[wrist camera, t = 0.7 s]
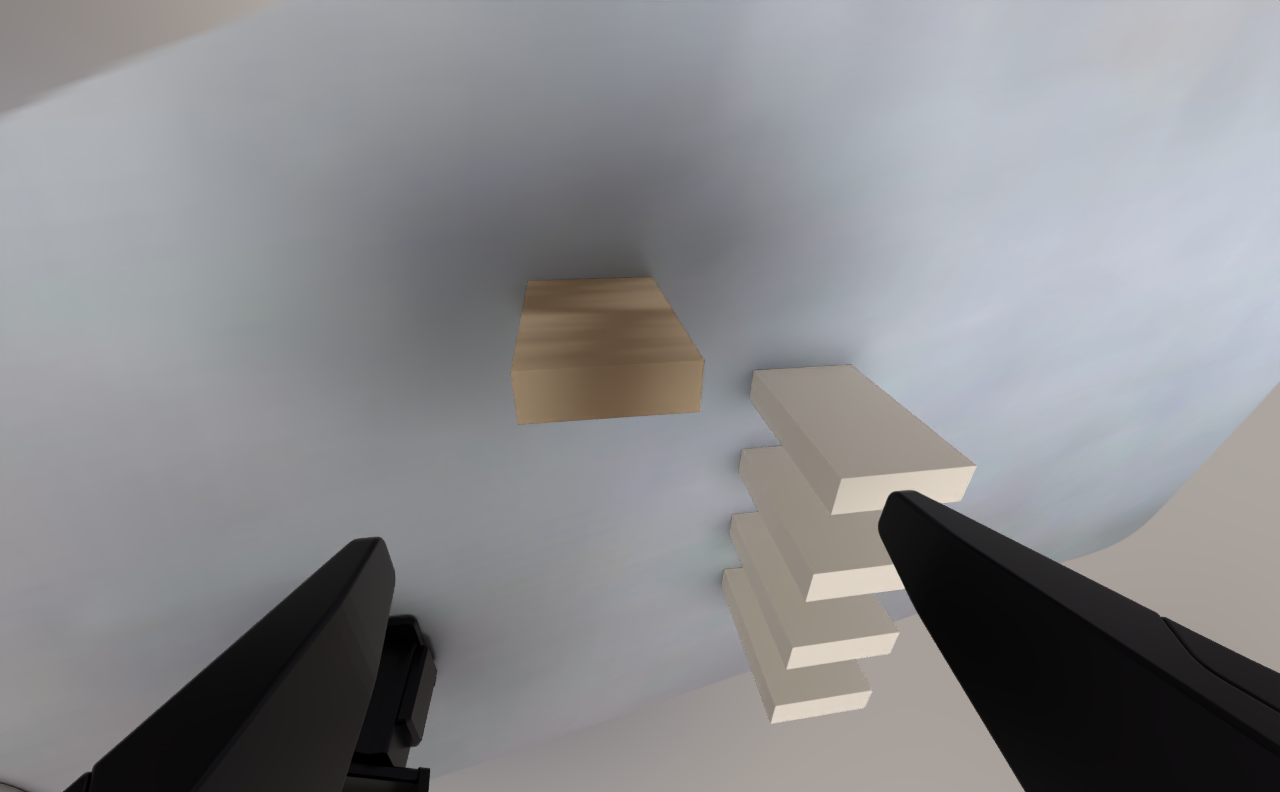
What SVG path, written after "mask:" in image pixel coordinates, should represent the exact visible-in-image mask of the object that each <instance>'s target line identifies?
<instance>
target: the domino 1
mask: <svg viewBox="0 0 1280 792" xmlns="http://www.w3.org/2000/svg"><path fill="white" fill-rule="evenodd" d="M749 400H750V401H751V403H752V404H753V405H754V407H755V408H756V410H757V411H758V413H759V414H760V415H761V417H762V418H763V420H764V421H765V422H766V424H767V425H768V427H769V428H770V429H771V431H772V432H773V434H774V435H775V437H776V438H777V439H778V441H779V442H780V444H781V445H782V446H783V448H784V449H785V451H786V452H787V454H788V455H789V456H790V458H791V459H792V461H793V462H794V463H795V465H796V466H797V468H798V469H799V470H800V472H801V473H802V475H803V476H804V478H805V479H806V480H807V482H808V483H809V485H810V486H811V487H812V489H813V490H814V492H815V493H816V494H817V496H818V497H819V499H820V500H821V502H822V503H823V504H824V506H825V507H826V509H827V510H828V511H829V513H830V514H831V515H836V514H845V513H854V512H864V511H873V510H882V509H883V508H884V505H885V503H886V500H887V497H888V496H889V494H890V493H892V492H894V491H902V490H914V491H917V492H919V493H921V494H923V495H925V496H927V497H929V498H931V499H933V500H935V501H937V502H939V503H948V502H957V501H961V499H962V497H963V495H964V493H965V491H966V489H967V486H968V484H969V482H970V480H971V478H972V476H973V473H974V471H975V469H976V467H977V465H976V464H974V463H973V462H972V461H971V460H969V459H968V458H967V457H966V456H964V455H963V454H962V453H961V452H959V451H958V450H957V449H956V448H954V447H953V446H952V445H951V444H949V443H948V442H947V441H946V440H944V439H943V438H942V437H941V436H939V435H938V434H937V433H936V432H935V431H933V430H932V429H931V428H930V427H928V426H927V425H926V424H925V423H923V422H922V421H921V420H920V419H918V418H917V417H916V416H915V415H913V414H912V413H911V412H910V411H908V410H907V409H906V408H905V407H903V406H902V405H901V404H900V403H898V402H897V401H896V400H895V399H893V398H892V397H891V396H890V395H889V394H887V393H886V392H885V391H884V390H882V389H881V388H880V387H879V386H877V385H876V384H875V383H874V382H872V381H871V380H870V379H869V378H867V377H866V376H865V375H864V374H862V373H861V372H860V371H859V370H857V369H856V368H855V367H854V366H852V365H835V366H818V367H801V368H785V369H768V370H754V371H753V378H752V385H751V391H750V398H749Z"/></svg>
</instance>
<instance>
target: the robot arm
mask: <svg viewBox="0 0 1280 792" xmlns="http://www.w3.org/2000/svg"><path fill="white" fill-rule="evenodd" d="M878 532H879V535H880V538H881V540H882V542H883V544H884V546H885V548H886V550H887V552H888V554H889V556H890V558H891V561H892V563H893V565H894V567H895V569H896V571H897V573H898V575H899V577H900V579H901V581H902V583H903V585H904V587H905V589H906V591H907V594H908V596H909V598H910V600H911V602H912V604H913V605H914V607H915V609H916V611H917V613H918V615H919V616H920V618H921V620H922V622H923V623H924V625H925V627H926V628H927V630H928V632H929V633H930V635H931V637H932V638H933V640H934V642H935V643H936V645H937V647H938V648H939V650H940V651H941V653H942V655H943V657H944V658H945V660H946V661H947V663H948V665H949V666H950V668H951V670H952V672H953V673H954V675H955V676H956V678H957V680H958V681H959V683H960V685H961V686H962V688H963V690H964V691H965V693H966V695H967V696H968V698H969V700H970V701H971V703H972V705H973V706H974V708H975V710H976V711H977V713H978V715H979V716H980V718H981V719H982V721H983V723H984V724H985V726H986V728H987V730H988V731H989V733H990V734H991V736H992V738H993V739H994V741H995V743H996V744H997V746H998V748H999V749H1000V751H1001V752H1002V754H1003V756H1004V758H1005V759H1006V761H1007V762H1008V764H1009V766H1010V768H1011V769H1012V771H1013V773H1014V774H1015V776H1016V778H1017V779H1018V781H1019V783H1020V784H1021V786H1022V787H1023V789H1024V791H1025V792H1280V673H1278V672H1276V671H1274V670H1272V669H1270V668H1267V667H1265V666H1263V665H1261V664H1259V663H1257V662H1255V661H1252V660H1250V659H1248V658H1246V657H1244V656H1242V655H1240V654H1238V653H1236V652H1234V651H1232V650H1230V649H1228V648H1226V647H1224V646H1222V645H1220V644H1218V643H1216V642H1214V641H1212V640H1210V639H1208V638H1206V637H1204V636H1202V635H1200V634H1198V633H1196V632H1194V631H1192V630H1190V629H1188V628H1186V627H1184V626H1182V625H1180V624H1178V623H1176V622H1174V621H1172V620H1170V619H1168V618H1166V617H1160V615H1159V614H1157V613H1156V612H1154V611H1152V610H1150V609H1148V608H1146V607H1144V606H1142V605H1140V604H1138V603H1136V602H1134V601H1132V600H1131V599H1129V598H1127V597H1124V596H1123V595H1121V594H1119V593H1117V592H1115V591H1113V590H1111V589H1109V588H1107V587H1105V586H1103V585H1101V584H1099V583H1097V582H1095V581H1093V580H1091V579H1089V578H1087V577H1085V576H1083V575H1081V574H1079V573H1077V572H1075V571H1073V570H1071V569H1069V568H1067V567H1065V566H1063V565H1061V564H1059V563H1057V562H1055V561H1053V560H1051V559H1049V558H1048V557H1046V556H1044V555H1042V554H1040V553H1038V552H1036V551H1034V550H1032V549H1030V548H1028V547H1026V546H1024V545H1022V544H1020V543H1018V542H1016V541H1014V540H1012V539H1010V538H1008V537H1006V536H1004V535H1002V534H1000V533H998V532H996V531H994V530H992V529H990V528H988V527H986V526H984V525H982V524H980V523H978V522H976V521H974V520H972V519H970V518H969V517H967V516H965V515H963V514H961V513H959V512H957V511H955V510H953V509H951V508H949V507H947V506H945V505H943V504H941V503H939V502H937V501H935V500H933V499H931V498H929V497H927V496H925V495H923V494H921V493H919V492H917V491H914V490H902V491H894V492H892V493H890V494H889V496H888V497H887V500H886V503H885V505H884V508H883V511H882V513H881V516H880V519H879V521H878ZM394 587H395V570H394V567H393V564H392V561H391V558H390V555H389V552H388V549H387V546H386V543H385V541H384V540H383V539H382V538H381V537H369V538H358V539H354V540H352V541H351V542H349V543H348V544H347V545H346V546H345V547H344V548H342V549H341V550H340V551H339V552H338V553H337V554H336V555H334V556H333V557H332V558H331V559H330V560H329V561H327V562H326V563H325V564H324V565H323V566H322V567H321V568H319V569H318V570H317V571H316V572H315V573H314V574H313V575H311V576H310V577H309V578H308V579H307V580H306V581H305V582H303V583H302V584H301V585H300V586H299V587H298V588H297V589H295V590H294V591H293V592H292V593H291V594H290V595H288V596H287V597H286V598H285V599H284V600H283V601H282V602H280V603H279V604H278V605H277V606H276V607H275V608H274V609H272V610H271V611H270V612H269V613H268V614H267V615H266V616H264V617H263V618H262V619H261V620H260V621H259V622H257V623H256V624H255V625H254V626H253V627H252V628H251V629H249V630H248V631H247V632H246V633H245V634H244V635H243V636H241V637H240V638H239V639H238V640H237V641H236V642H235V643H233V644H232V645H231V646H230V647H229V648H228V649H227V650H225V651H224V652H223V653H222V654H221V655H220V656H218V657H217V658H216V659H215V660H214V661H213V662H212V663H210V664H209V665H208V666H207V667H206V668H205V669H204V670H202V671H201V672H200V673H199V674H198V675H197V676H196V677H194V678H193V679H192V680H191V681H190V682H189V683H187V684H186V685H185V686H184V687H183V688H182V689H181V690H179V691H178V692H177V693H176V694H175V695H174V696H173V697H171V698H170V699H169V700H168V701H167V702H166V703H165V704H163V705H162V706H161V707H160V708H159V709H158V710H157V711H155V712H154V713H153V714H152V715H151V716H150V717H148V718H147V719H146V720H145V721H144V722H143V723H142V724H140V725H139V726H138V727H137V728H136V729H135V730H134V731H132V732H131V733H130V734H129V735H128V736H127V737H126V738H124V739H123V740H122V741H121V742H120V743H119V744H117V745H116V746H115V747H114V748H113V749H112V750H111V751H109V752H108V753H107V754H106V755H105V756H104V757H103V758H101V759H100V760H99V761H98V762H97V763H96V764H95V765H94V766H93V769H92V772H86V773H84V774H83V775H82V776H80V777H79V778H78V779H77V780H76V781H75V782H74V783H72V784H71V785H70V786H69V787H68V788H67V789H66V790H64V791H63V792H428V790H429V778H430V768H423V767H419V768H418V769H412V768H405V767H406V763H407V759H408V755H409V750H410V747H416V746H418V744H419V743H420V742H421V741H422V737H423V732H424V728H425V723H426V719H427V714H428V710H429V705H430V701H431V696H432V692H433V687H434V686H435V682H436V674H437V669H436V667H435V664H434V661H433V658H432V655H431V652H430V649H429V648H428V647H427V645H425V644H424V641H423V638H422V635H421V632H420V630H419V627H418V624H417V622H416V620H414V619H413V618H399V619H391V620H388V618H389V613H390V608H391V603H392V598H393V593H394Z"/></svg>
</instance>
